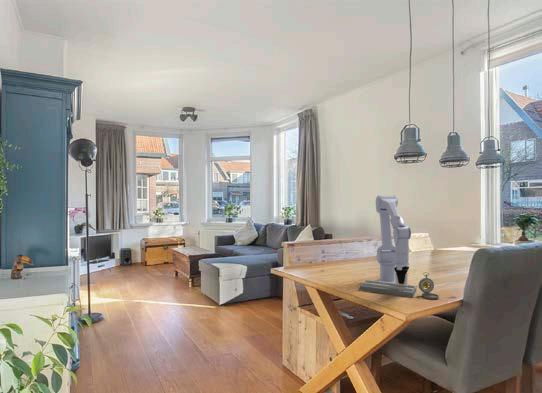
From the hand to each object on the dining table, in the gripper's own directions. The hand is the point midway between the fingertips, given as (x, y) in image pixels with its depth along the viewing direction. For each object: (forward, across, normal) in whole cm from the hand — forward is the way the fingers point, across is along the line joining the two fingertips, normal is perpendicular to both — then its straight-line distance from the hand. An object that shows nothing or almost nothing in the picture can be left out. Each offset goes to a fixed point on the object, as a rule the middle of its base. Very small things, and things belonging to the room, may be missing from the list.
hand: (401, 282), depth 155 cm
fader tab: (+2, 0, 0) cm, 2 cm away
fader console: (+4, 0, -6) cm, 7 cm away
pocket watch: (+4, +1, +12) cm, 12 cm away
